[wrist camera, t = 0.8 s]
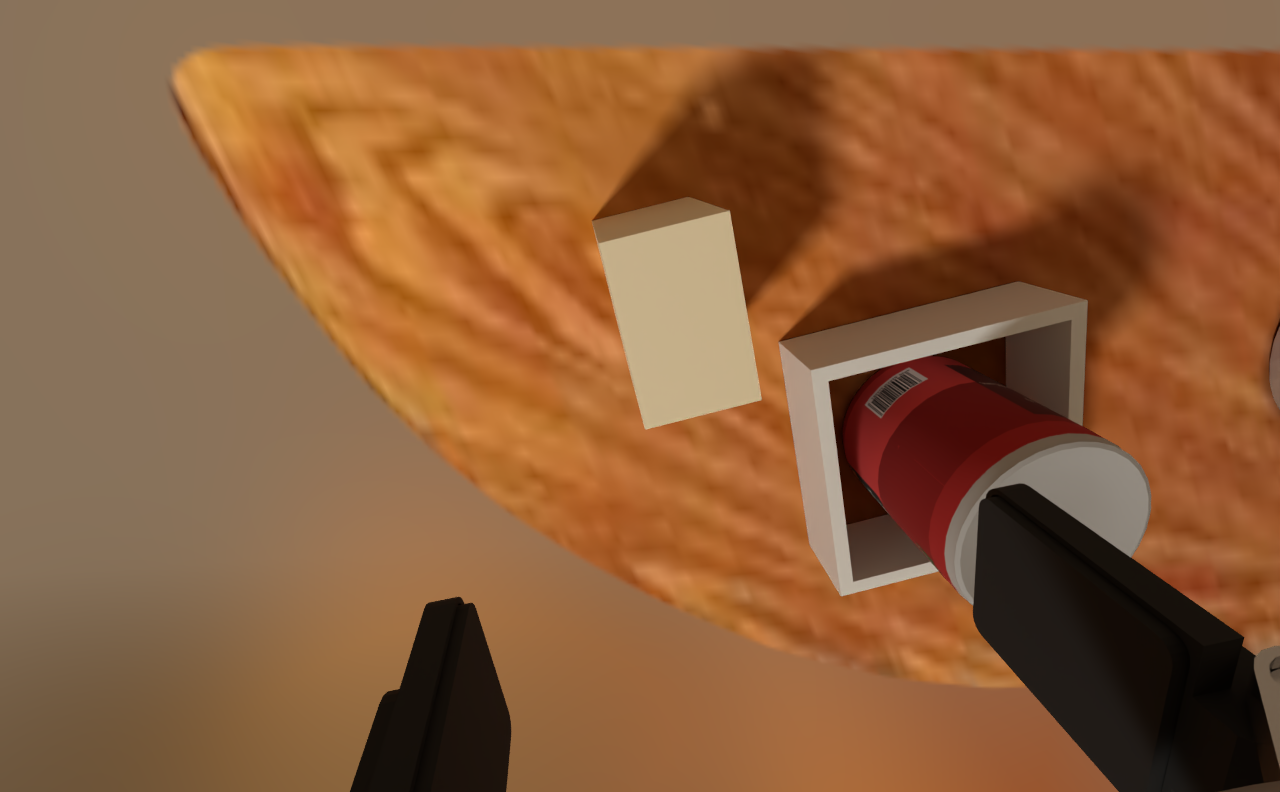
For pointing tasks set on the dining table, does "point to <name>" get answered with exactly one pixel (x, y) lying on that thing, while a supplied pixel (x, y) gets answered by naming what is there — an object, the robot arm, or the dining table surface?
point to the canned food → (981, 460)
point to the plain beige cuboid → (679, 308)
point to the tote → (1026, 314)
